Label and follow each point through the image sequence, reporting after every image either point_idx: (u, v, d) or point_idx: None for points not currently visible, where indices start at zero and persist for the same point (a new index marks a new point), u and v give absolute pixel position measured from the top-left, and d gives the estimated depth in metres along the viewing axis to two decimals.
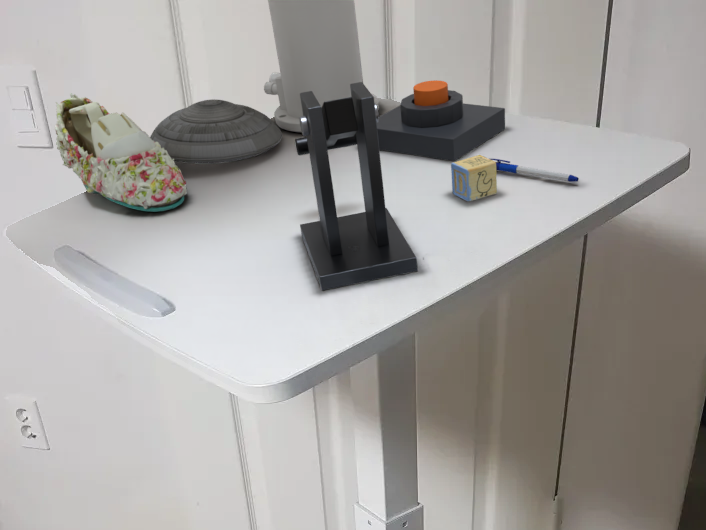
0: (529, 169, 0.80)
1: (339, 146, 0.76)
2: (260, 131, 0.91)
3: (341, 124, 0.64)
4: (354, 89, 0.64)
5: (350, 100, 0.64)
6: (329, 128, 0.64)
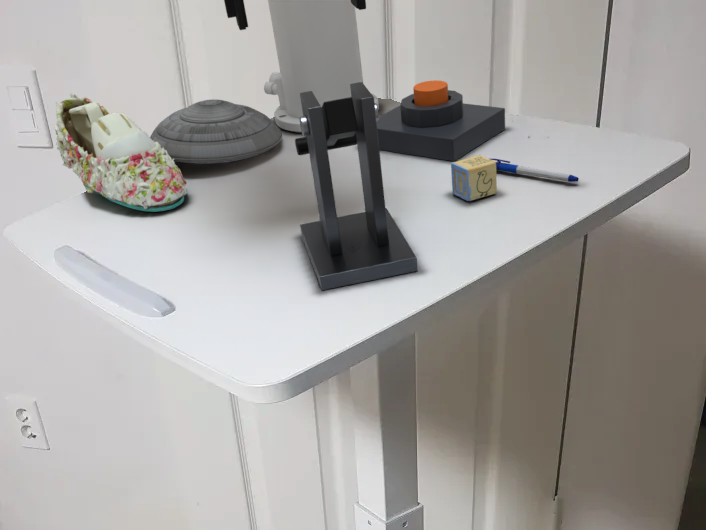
0: (529, 169, 0.80)
1: (339, 146, 0.76)
2: (260, 131, 0.91)
3: (341, 124, 0.64)
4: (354, 89, 0.64)
5: (350, 100, 0.64)
6: (329, 128, 0.64)
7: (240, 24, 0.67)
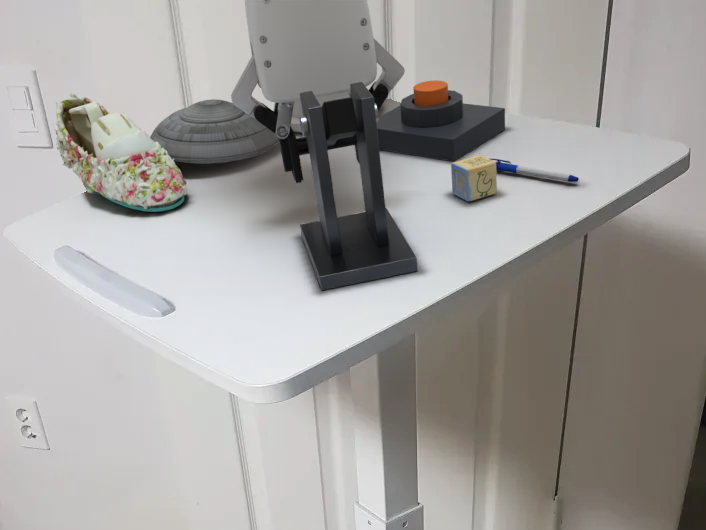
0: (529, 169, 0.80)
1: (339, 146, 0.76)
2: (260, 131, 0.91)
3: (341, 124, 0.64)
4: (354, 89, 0.64)
5: (350, 100, 0.64)
6: (329, 128, 0.64)
7: (296, 179, 0.76)
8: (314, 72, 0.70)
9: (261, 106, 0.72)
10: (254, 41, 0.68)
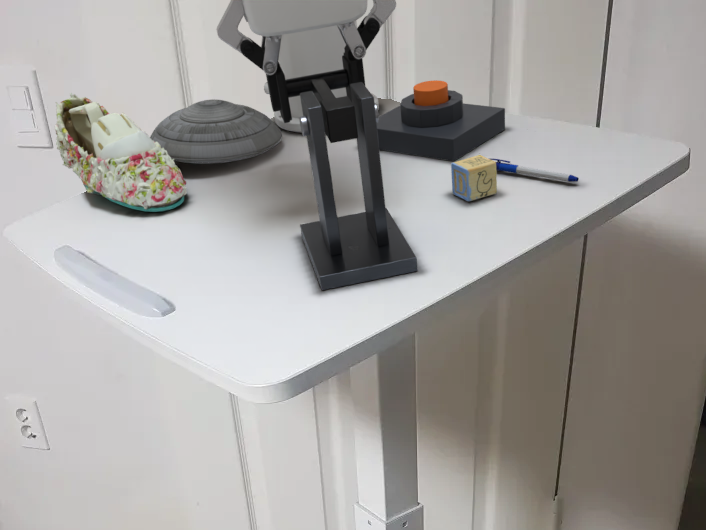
0: (529, 169, 0.80)
1: (329, 89, 0.74)
2: (260, 131, 0.91)
3: (342, 133, 0.64)
4: (354, 89, 0.64)
5: (352, 109, 0.63)
6: (330, 136, 0.64)
7: (285, 118, 0.73)
8: (302, 3, 0.67)
9: (248, 40, 0.70)
10: None
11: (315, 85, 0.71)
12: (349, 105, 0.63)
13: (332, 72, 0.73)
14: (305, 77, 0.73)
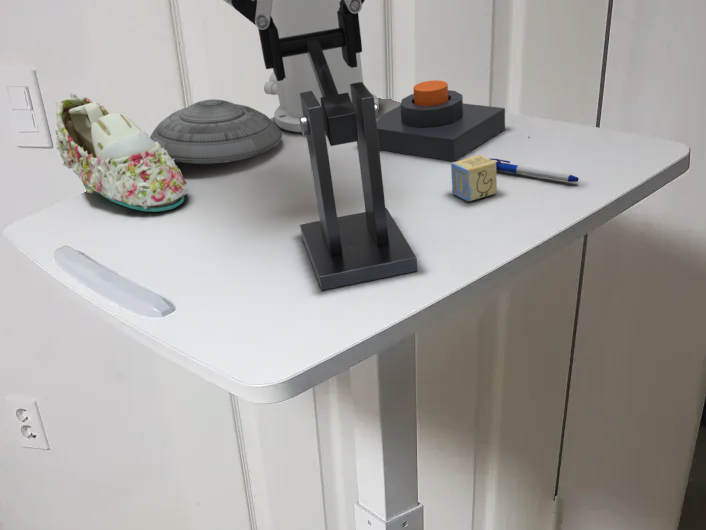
0: (529, 169, 0.80)
1: (324, 49, 0.71)
2: (260, 131, 0.91)
3: (342, 137, 0.65)
4: (354, 89, 0.64)
5: (354, 116, 0.64)
6: (330, 140, 0.65)
7: (278, 76, 0.71)
8: None
9: None
10: None
11: (311, 54, 0.69)
12: (350, 112, 0.64)
13: (328, 32, 0.70)
14: (300, 37, 0.70)
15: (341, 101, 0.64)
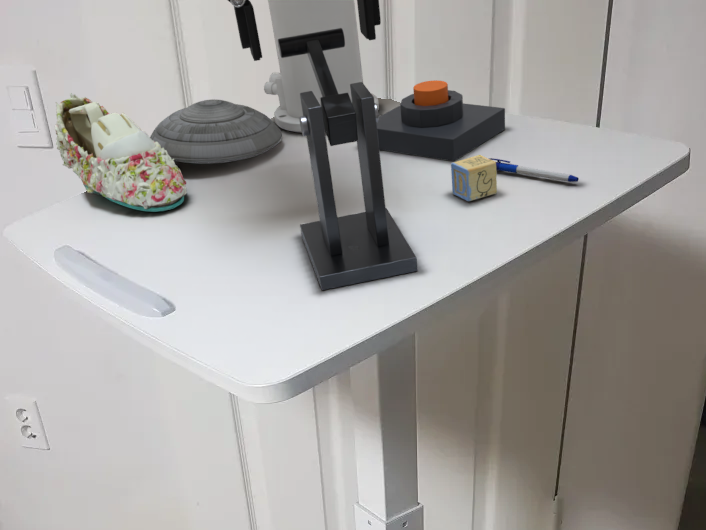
0: (529, 169, 0.80)
1: (324, 50, 0.71)
2: (260, 131, 0.91)
3: (342, 137, 0.65)
4: (354, 89, 0.64)
5: (354, 116, 0.64)
6: (330, 140, 0.65)
7: (255, 55, 0.69)
8: None
9: None
10: None
11: (311, 54, 0.69)
12: (350, 112, 0.63)
13: (328, 33, 0.70)
14: (300, 38, 0.70)
15: (341, 101, 0.64)
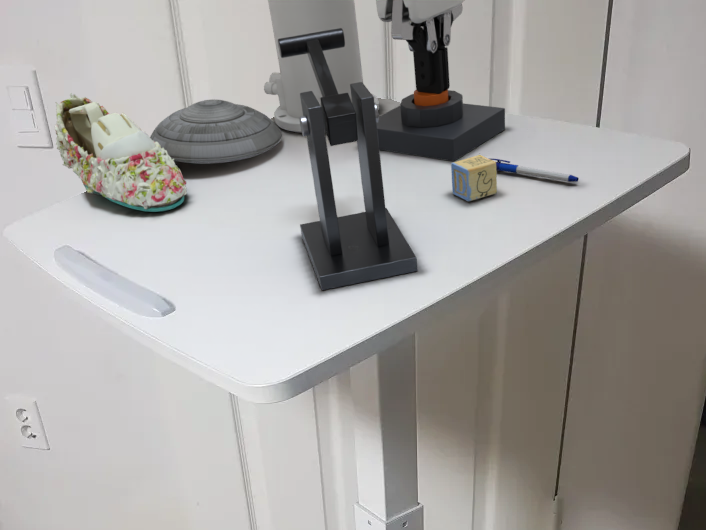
0: (529, 169, 0.80)
1: (324, 50, 0.71)
2: (260, 131, 0.91)
3: (342, 137, 0.65)
4: (354, 89, 0.64)
5: (354, 116, 0.64)
6: (330, 140, 0.65)
7: (441, 89, 0.87)
8: None
9: (417, 25, 0.82)
10: None
11: (311, 54, 0.69)
12: (350, 112, 0.63)
13: (328, 33, 0.70)
14: (300, 38, 0.70)
15: (341, 101, 0.64)
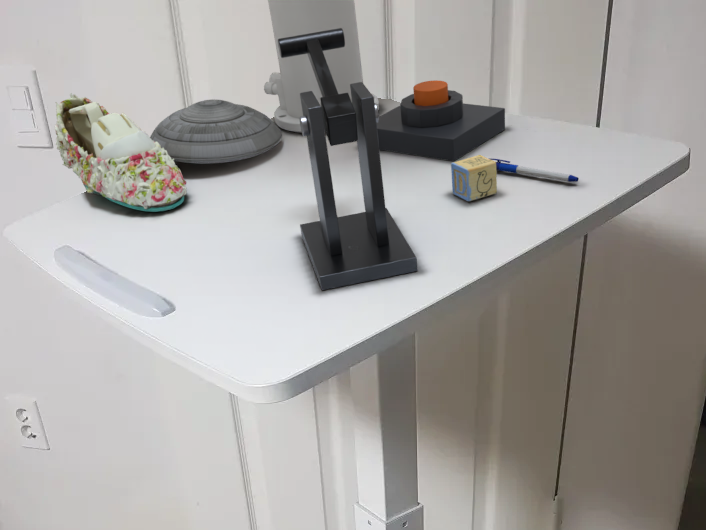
0: (529, 169, 0.80)
1: (324, 50, 0.71)
2: (260, 131, 0.91)
3: (342, 137, 0.65)
4: (354, 89, 0.64)
5: (354, 116, 0.64)
6: (330, 140, 0.65)
7: None
8: None
9: None
10: None
11: (311, 54, 0.69)
12: (350, 112, 0.63)
13: (328, 33, 0.70)
14: (300, 38, 0.70)
15: (341, 101, 0.64)
